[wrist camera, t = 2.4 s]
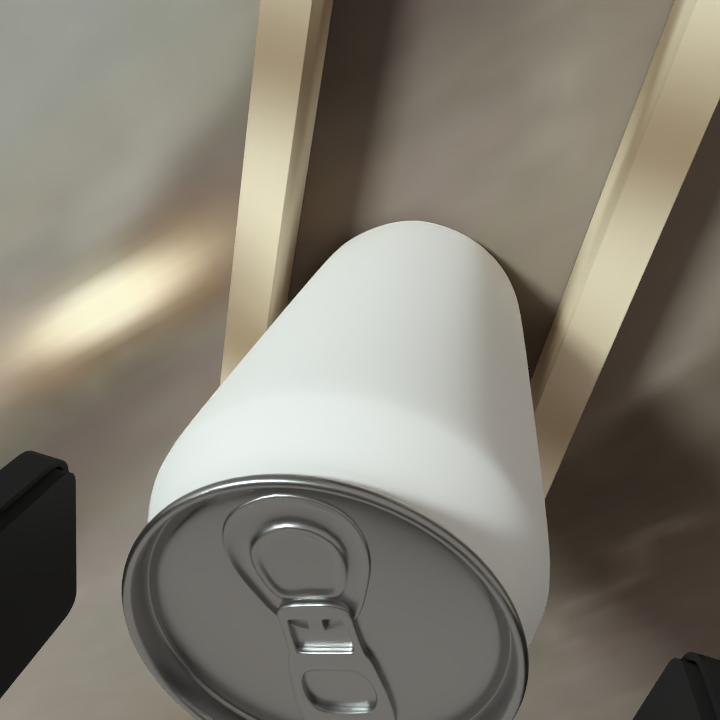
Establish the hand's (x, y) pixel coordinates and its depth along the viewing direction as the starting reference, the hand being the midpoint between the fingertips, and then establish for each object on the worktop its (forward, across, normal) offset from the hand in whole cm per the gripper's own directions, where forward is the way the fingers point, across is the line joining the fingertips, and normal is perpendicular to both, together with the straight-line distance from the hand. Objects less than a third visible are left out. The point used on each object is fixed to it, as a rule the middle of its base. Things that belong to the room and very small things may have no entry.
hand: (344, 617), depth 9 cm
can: (+11, 0, -1) cm, 11 cm away
